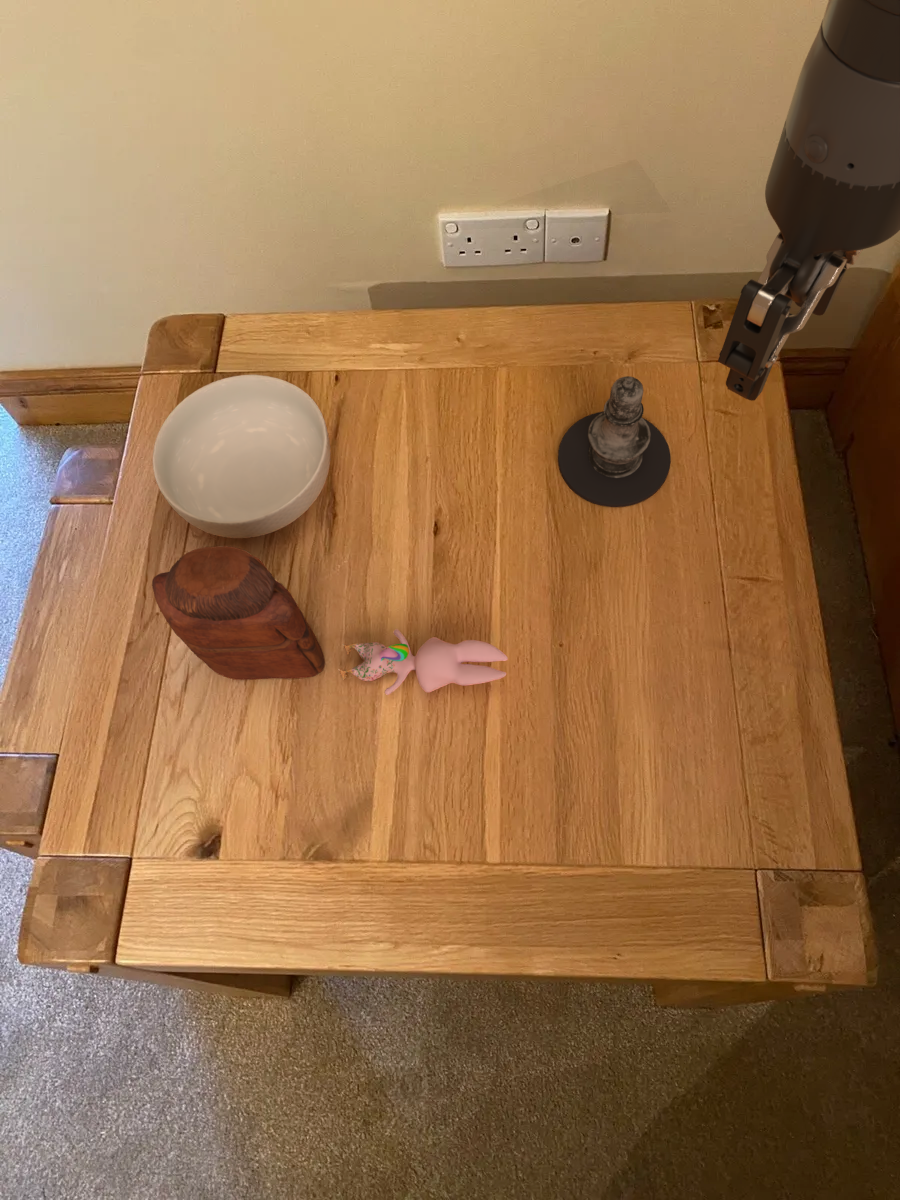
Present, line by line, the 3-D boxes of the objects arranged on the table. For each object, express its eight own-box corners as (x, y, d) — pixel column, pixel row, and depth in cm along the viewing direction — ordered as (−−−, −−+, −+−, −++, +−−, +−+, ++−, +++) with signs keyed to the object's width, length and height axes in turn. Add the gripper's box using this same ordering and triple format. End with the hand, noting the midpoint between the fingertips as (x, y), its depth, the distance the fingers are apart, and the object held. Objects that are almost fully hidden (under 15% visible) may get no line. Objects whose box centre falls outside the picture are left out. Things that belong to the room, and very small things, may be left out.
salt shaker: (574, 446, 88) (582, 367, 77) (624, 421, 89) (639, 340, 78) (605, 490, 86) (619, 415, 75) (657, 464, 87) (677, 386, 76)
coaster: (640, 400, 91) (641, 396, 90) (689, 485, 86) (690, 481, 86) (540, 435, 90) (541, 431, 89) (585, 522, 85) (585, 519, 85)
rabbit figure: (345, 701, 81) (507, 706, 77) (322, 679, 76) (494, 683, 72) (356, 637, 83) (513, 640, 80) (334, 612, 78) (501, 613, 74)
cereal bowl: (308, 574, 85) (291, 539, 78) (151, 540, 88) (122, 503, 81) (361, 431, 91) (349, 387, 85) (213, 403, 94) (191, 359, 88)
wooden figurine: (332, 620, 83) (288, 526, 66) (328, 685, 80) (280, 604, 64) (209, 621, 84) (134, 529, 67) (200, 686, 81) (120, 606, 65)
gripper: (865, 247, 40) (770, 450, 55) (1006, 71, 44) (882, 305, 59) (720, 180, 42) (667, 392, 57) (866, 19, 46) (781, 256, 61)
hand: (776, 348), depth 58 cm, fingers open, 8 cm apart
